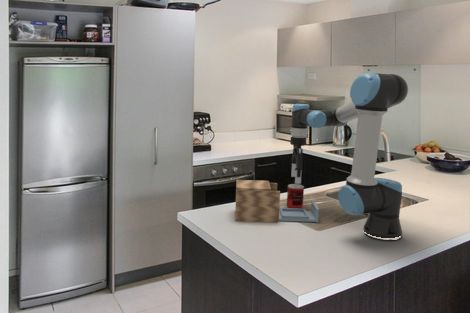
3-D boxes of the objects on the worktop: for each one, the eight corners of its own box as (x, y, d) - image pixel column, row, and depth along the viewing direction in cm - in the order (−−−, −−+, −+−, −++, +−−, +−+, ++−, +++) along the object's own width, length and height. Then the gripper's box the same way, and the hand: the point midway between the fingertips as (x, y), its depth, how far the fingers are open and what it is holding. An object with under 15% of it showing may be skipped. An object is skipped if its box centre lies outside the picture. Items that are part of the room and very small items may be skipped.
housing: (275, 211, 200) (277, 181, 197) (278, 222, 185) (280, 189, 182) (235, 210, 200) (236, 179, 197) (235, 221, 185) (236, 187, 182)
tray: (314, 213, 199) (315, 200, 198) (320, 222, 186) (321, 209, 185) (271, 211, 199) (272, 199, 198) (274, 220, 186) (274, 207, 185)
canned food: (291, 204, 213) (292, 183, 211) (305, 207, 208) (307, 185, 206) (283, 207, 207) (284, 185, 205) (297, 211, 202) (298, 188, 200)
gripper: (287, 132, 213) (285, 173, 218) (294, 140, 189) (291, 186, 193) (302, 133, 213) (299, 174, 218) (311, 140, 189) (307, 186, 193)
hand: (295, 180), depth 205 cm, fingers open, 13 cm apart
